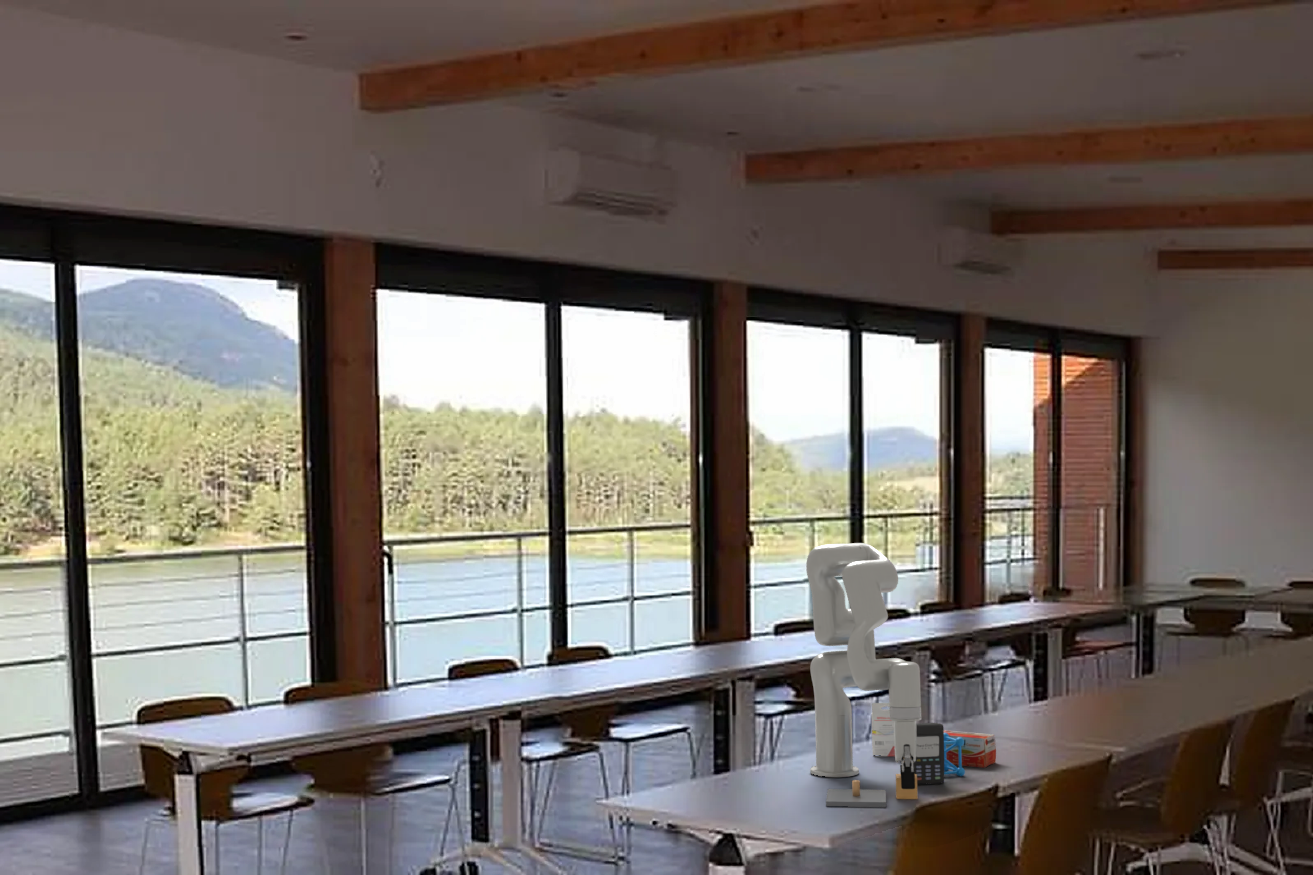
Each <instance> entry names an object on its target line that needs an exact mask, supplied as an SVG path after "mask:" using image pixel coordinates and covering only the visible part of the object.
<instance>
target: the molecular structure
mask: <svg viewBox="0 0 1313 875" xmlns="http://www.w3.org/2000/svg"><path fill="white" fill-rule="evenodd" d="M948 740H951V741H948ZM946 744H953V745H952V746H950V747H949V748H947V749H946ZM963 745H964V739H963V738H961V737H958V738H956V739H954V738H950V737H949V735H948V734H947V733H944V776H945V775H956V776H958V777H963V776H965V774H966V770H965V769H964V768H963V766H962V759H961V746H963ZM955 746H958V753H959V765H958V767H957V765H953V764H952V763H951V762H949V761H948V760H947V759H946V752H948V751H949V750H951V749H952V748H954V747H955ZM949 770H950V771H949Z"/></svg>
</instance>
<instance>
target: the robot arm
mask: <svg viewBox="0 0 1313 875" xmlns="http://www.w3.org/2000/svg"><path fill="white" fill-rule="evenodd" d="M805 566H806V568H805V569H806V576H807V580H808V582H809V583H808V584H809V586H810V591H811V597H812V614H813V615H812V616H813V630H814V631H813V633H814V637H815V641H816V642H817V643H818V644H819V645H821V646H824V647H837V646H847V650H834V651H823V652H821V653H819V654H817V655H816V656H814V657H813V658H812V660H811V662H810V666H809V667H810V669H809V670H810V676H811V682H812V686H813V695H814V714H815V715H814V719H815V721H814V722H815V723H814V724H815V726H814V730H815V764H816V765H814V766H811V768H810V769H809V770H810V771H809V772H810V774H811V775H813V774H814V775H813V776H816V775H818V776H817V777H822V776H825V777H824V778H846V777H847V778H848V777H852V776H853V777H854V776H857V775H858V774H860V768H858V766H855V765H854V762H853V761H854V759H853V758H854V756H853V755H854V754H853V753H854V752H853V721H852V720H853V715H852V714H853V712H852V711H853V710H852V709H853V707H852V703H851V700H850V699H849V697H848V695H847V694H846V692H845V691H844V689H846V688H854V687H857V688H859V689H860V690H861V691H865V692H872V691H874V692H875V691H884V690H887V691H888V697H889V698H888V700H889V702H888V703H889V706H890V707H889V709H890V720H892V721H894V743H895V756H894V760H895V762H896V763H897V764H898V763H899V762H900V764H899V765H900V766H899V767H900V769H899V772H900V773H899V774H901V788H902V789H915V772H914V765H913V763H914V762H915V761H916V751H917V725H916V723H917V722H919V721H921V720H922V702H921V701H922V698H921V696H922V695H921V671H920V670H921V669H920V666H919V664H918V663H916V662H915V661H906V660H904V659H901V658H897V657H895V658H894V657H891V658H890V657H889V658H876V645H875V642H876V641H875V629H877V628H878V627H881V626H882V625H883V624H885V623H886V621H888V618H889V616H888V615H889V614H888V610H887V607H886V604H885V601H884V597H883V593H884V594H886V593H891V592H894V590H896V589H897V587H898V584H899V574H898V572H897V569H896V566H895V565H894V564H893V562H892V561H891V560H890V559H889V558H888V557H886V555H884V554H883V553H882V552H880V551H879V550H878V549H877V548H875V547H874V546H872V545H871V544H868V543H863V542H854V543H852V542H851V543H828V544H827V543H826V544H822V545H818V546H815V547H813V548H812V550H810V551H809V553H808V556H807V558H806V564H805ZM835 577H842V582H843V586H844V589H843V587H842V585H841V584H840V582H839V581H838V579H837V578H835ZM844 590H845V591H844ZM845 594H846V595H845ZM846 596H847V600H848V603H849V604H848V605H849V607H850V608H846Z"/></svg>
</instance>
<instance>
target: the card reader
mask: <svg viewBox="0 0 1313 875" xmlns="http://www.w3.org/2000/svg"><path fill="white" fill-rule="evenodd" d="M916 725H917V751H916V761H915V762H914V763H913V765H914V772H915V774H917V786H921V785H922V786H923V785H937V784H938V785H939V784H940V785H941V784H942V783H944V782H945V775H944V772H945V771H944V730H945V728H944V725H943V723H940V722H920V723H919V722H916Z"/></svg>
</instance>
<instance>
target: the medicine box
mask: <svg viewBox="0 0 1313 875" xmlns="http://www.w3.org/2000/svg"><path fill="white" fill-rule="evenodd" d="M944 733H947V734H948V735H949V737H950V738H954V739H956V738H958V737H961V738H963V739H964V745H963V746H961V759H962V767H963V766H964V767H972V768H982V769H984V768H987V767H989V765H990V766H991V765H993V764H995V763H997V762H996V761H997V742H996V735H995V734H992V733H984V732H983V733H980V732H969V731H956V730H947V729H944ZM948 741H951V740H948ZM952 745H953V744H946V749H947V748H949V747H950V746H952ZM946 759H947V760H948V761H949V762H951V763H952V764H953V765H955V766H959V753H958V746H955V747H954V748H952V749H951V750H949V751H948V752H946Z"/></svg>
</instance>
